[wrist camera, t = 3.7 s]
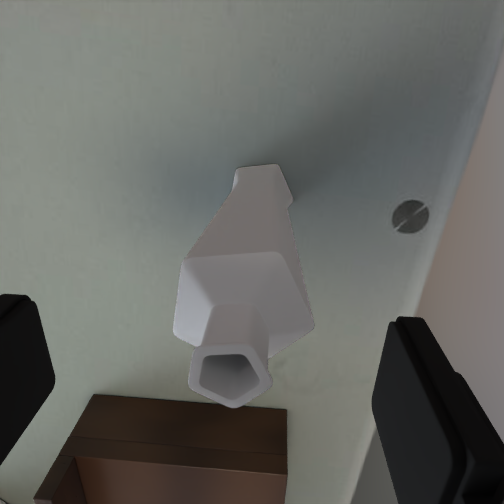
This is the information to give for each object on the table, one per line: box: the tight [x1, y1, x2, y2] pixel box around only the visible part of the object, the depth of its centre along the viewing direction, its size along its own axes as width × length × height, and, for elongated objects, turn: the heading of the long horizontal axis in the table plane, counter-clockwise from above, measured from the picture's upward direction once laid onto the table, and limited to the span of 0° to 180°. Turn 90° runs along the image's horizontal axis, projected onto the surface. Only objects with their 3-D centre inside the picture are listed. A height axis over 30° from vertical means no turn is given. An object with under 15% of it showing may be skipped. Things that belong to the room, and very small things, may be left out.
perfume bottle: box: [173, 164, 314, 408], centre depth 16 cm, size 5×4×15 cm
